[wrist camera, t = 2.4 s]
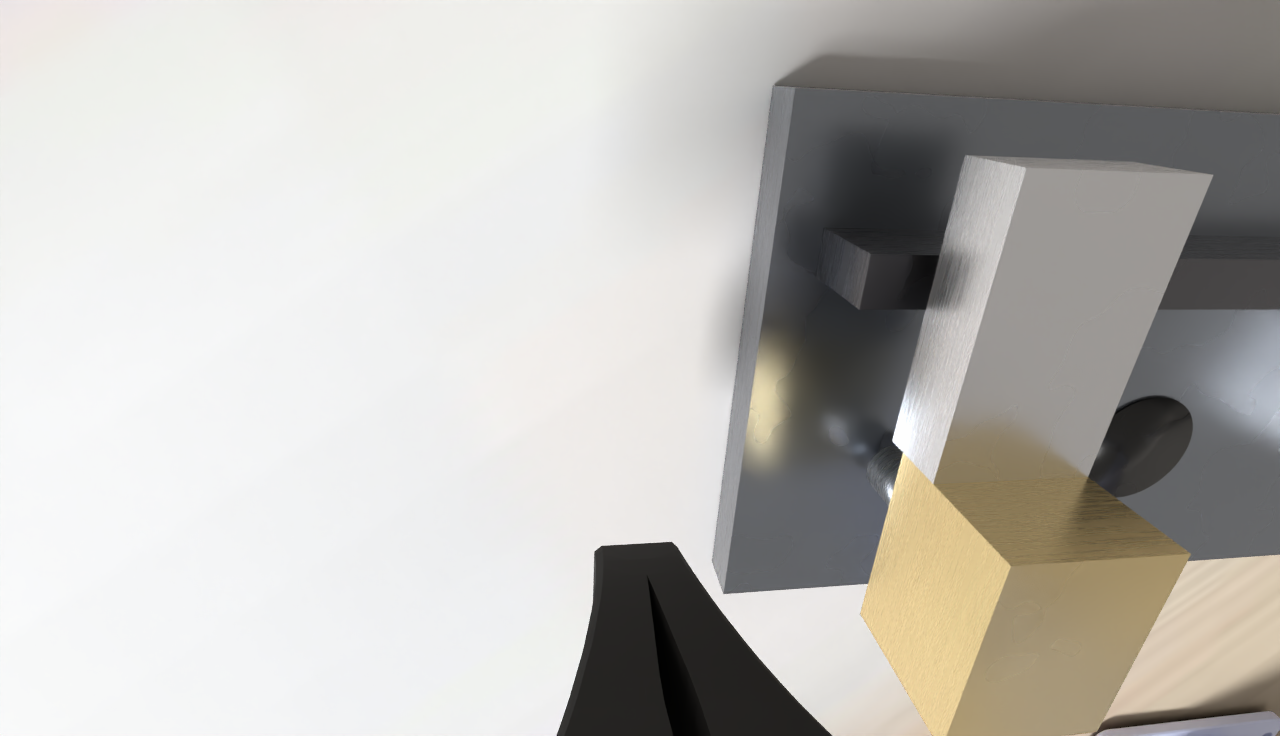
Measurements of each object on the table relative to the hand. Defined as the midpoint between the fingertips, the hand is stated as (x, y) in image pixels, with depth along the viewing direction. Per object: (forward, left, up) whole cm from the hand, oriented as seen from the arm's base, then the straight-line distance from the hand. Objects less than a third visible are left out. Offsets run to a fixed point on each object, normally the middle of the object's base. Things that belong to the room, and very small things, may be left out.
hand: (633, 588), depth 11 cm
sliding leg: (+3, -7, -3) cm, 8 cm away
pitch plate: (+2, -15, -5) cm, 16 cm away
